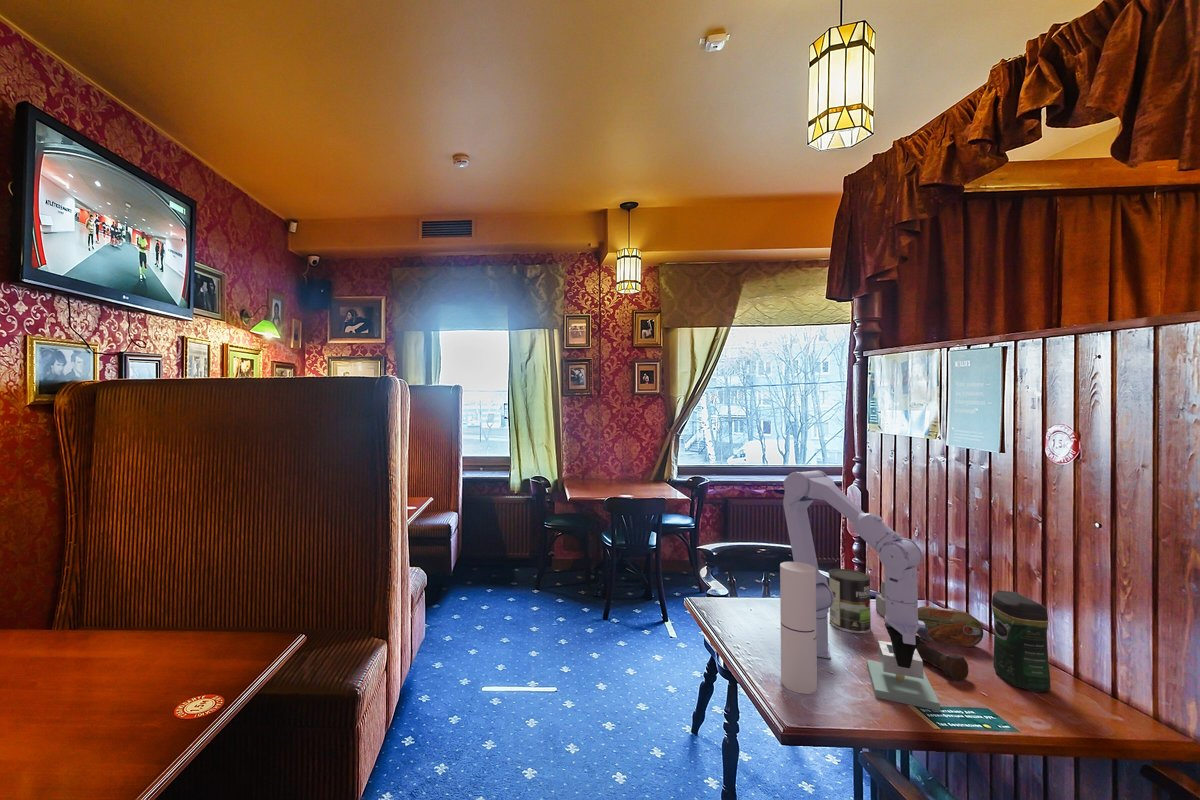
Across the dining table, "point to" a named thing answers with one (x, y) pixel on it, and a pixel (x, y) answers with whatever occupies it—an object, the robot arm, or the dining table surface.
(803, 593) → the cylindrical container
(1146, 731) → the dining table surface
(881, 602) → the padlock
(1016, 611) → the coffee jar
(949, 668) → the bolt
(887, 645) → the grey boxy piece
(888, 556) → the robot arm
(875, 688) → the plate
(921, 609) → the tin
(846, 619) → the coffee can
